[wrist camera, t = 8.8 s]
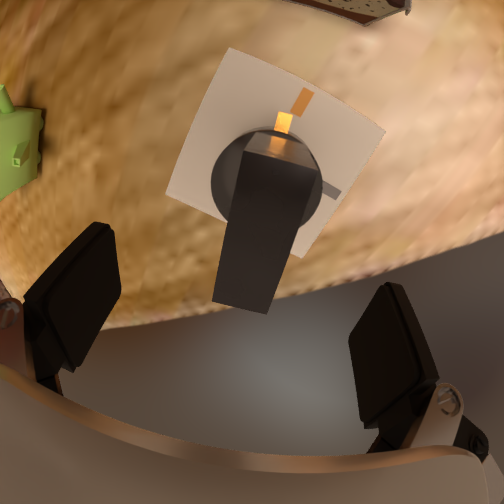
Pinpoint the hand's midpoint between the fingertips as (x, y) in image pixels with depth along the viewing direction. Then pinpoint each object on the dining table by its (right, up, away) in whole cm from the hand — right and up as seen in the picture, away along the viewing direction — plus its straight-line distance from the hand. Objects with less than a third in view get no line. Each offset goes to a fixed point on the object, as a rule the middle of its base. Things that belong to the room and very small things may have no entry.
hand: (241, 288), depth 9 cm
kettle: (-35, +19, +19) cm, 44 cm away
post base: (+2, +12, +19) cm, 23 cm away
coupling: (+2, +8, +13) cm, 15 cm away
